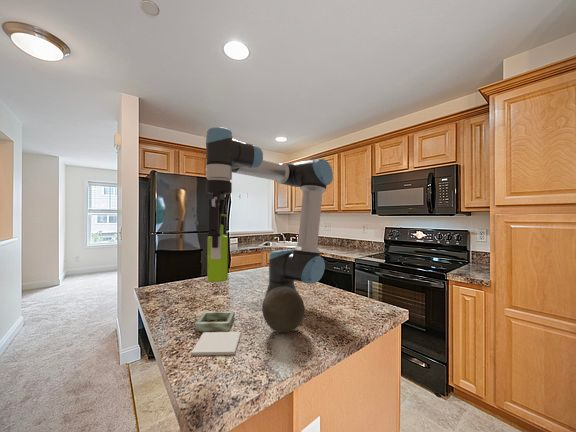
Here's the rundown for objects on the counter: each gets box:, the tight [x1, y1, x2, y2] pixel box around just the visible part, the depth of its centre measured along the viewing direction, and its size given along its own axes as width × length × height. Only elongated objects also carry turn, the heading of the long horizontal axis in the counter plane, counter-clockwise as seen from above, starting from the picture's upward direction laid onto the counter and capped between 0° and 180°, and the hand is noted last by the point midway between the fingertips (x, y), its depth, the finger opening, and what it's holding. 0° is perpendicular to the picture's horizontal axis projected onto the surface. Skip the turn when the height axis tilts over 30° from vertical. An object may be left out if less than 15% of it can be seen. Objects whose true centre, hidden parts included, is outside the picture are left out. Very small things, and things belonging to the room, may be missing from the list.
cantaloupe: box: [261, 286, 306, 334], centre depth 84 cm, size 14×14×15 cm
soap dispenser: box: [206, 214, 229, 283], centre depth 76 cm, size 6×7×20 cm
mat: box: [190, 331, 242, 356], centre depth 76 cm, size 12×12×1 cm
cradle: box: [194, 311, 235, 332], centre depth 90 cm, size 11×10×2 cm
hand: (218, 256), depth 76 cm, fingers closed on soap dispenser, 6 cm apart
